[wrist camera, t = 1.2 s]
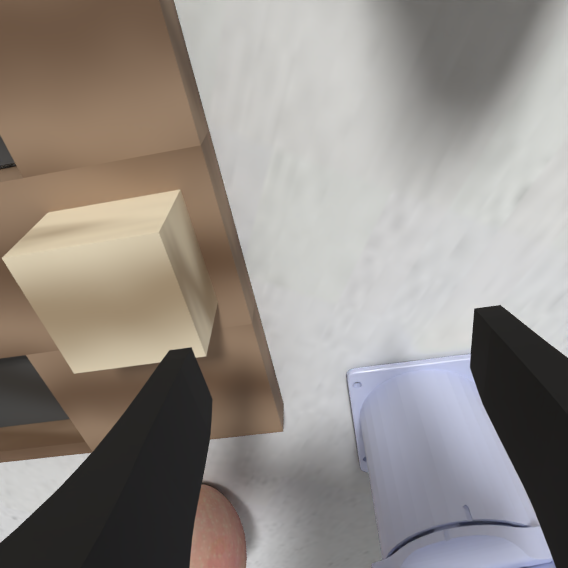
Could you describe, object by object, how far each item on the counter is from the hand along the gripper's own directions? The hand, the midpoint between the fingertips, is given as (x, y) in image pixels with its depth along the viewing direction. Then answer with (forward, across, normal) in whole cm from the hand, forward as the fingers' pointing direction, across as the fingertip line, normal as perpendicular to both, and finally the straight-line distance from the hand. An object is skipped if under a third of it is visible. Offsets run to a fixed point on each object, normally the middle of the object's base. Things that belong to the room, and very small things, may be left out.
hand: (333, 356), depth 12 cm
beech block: (+8, +8, +1) cm, 11 cm away
